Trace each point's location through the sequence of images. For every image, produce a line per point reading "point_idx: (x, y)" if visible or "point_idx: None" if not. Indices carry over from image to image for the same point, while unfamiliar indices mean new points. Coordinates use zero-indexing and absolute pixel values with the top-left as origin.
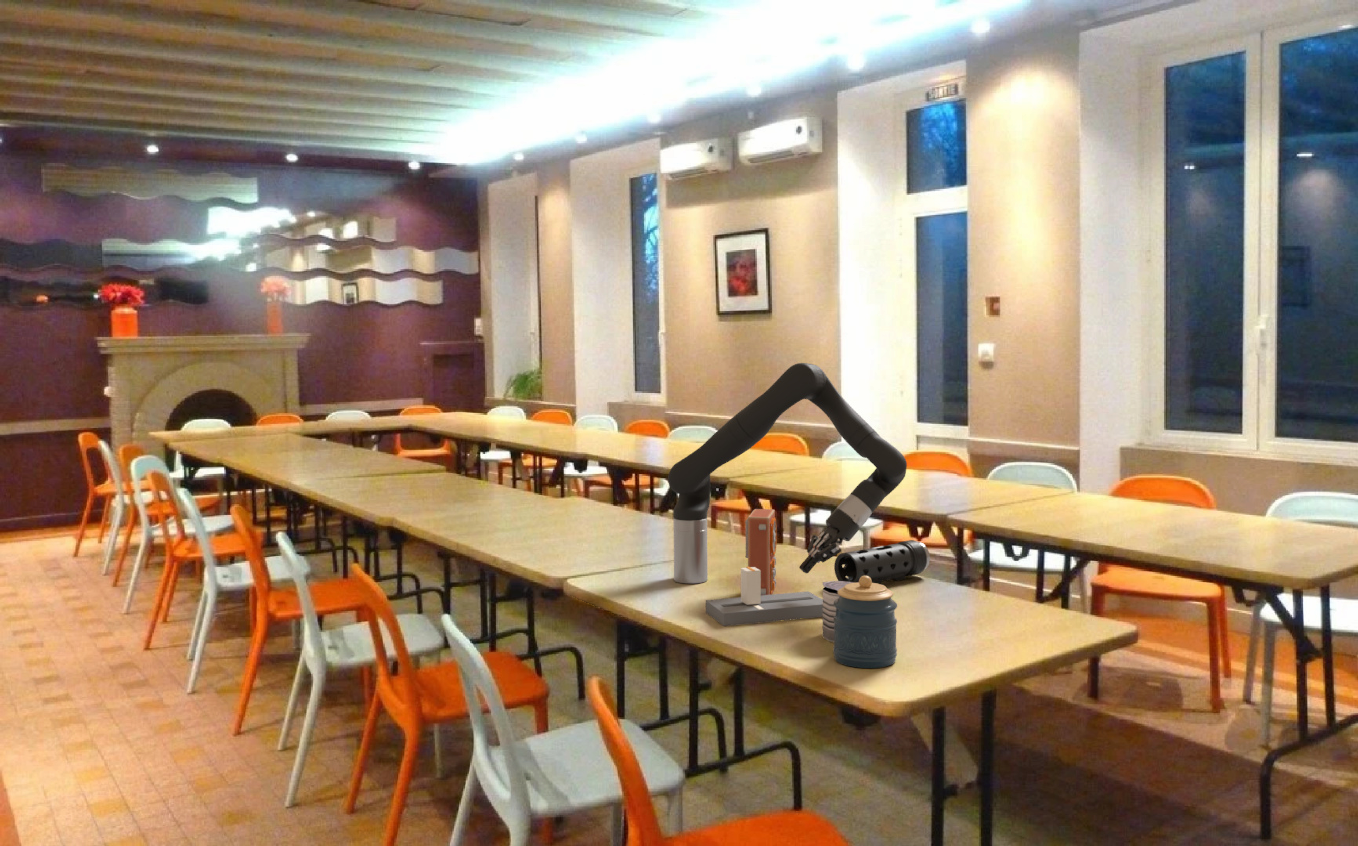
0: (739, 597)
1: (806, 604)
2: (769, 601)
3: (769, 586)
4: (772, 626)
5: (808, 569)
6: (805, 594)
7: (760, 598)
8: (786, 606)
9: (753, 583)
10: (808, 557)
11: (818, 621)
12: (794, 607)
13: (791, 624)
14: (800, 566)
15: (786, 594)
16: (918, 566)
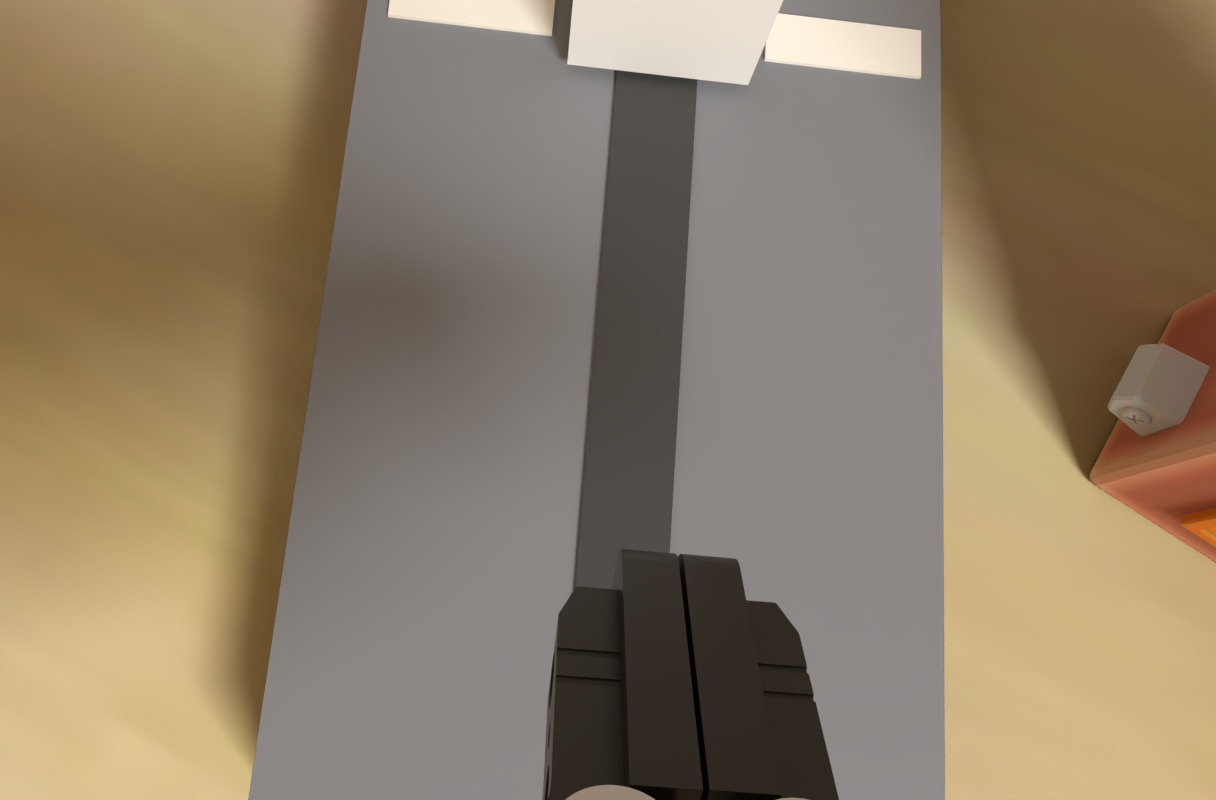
0: (933, 25)
1: (354, 529)
2: (642, 204)
3: (1204, 468)
4: (225, 88)
5: (553, 667)
6: None
7: (571, 28)
8: (379, 276)
9: None
10: (713, 755)
11: (159, 576)
12: (319, 347)
13: (198, 272)
14: (700, 559)
15: (888, 541)
16: None
